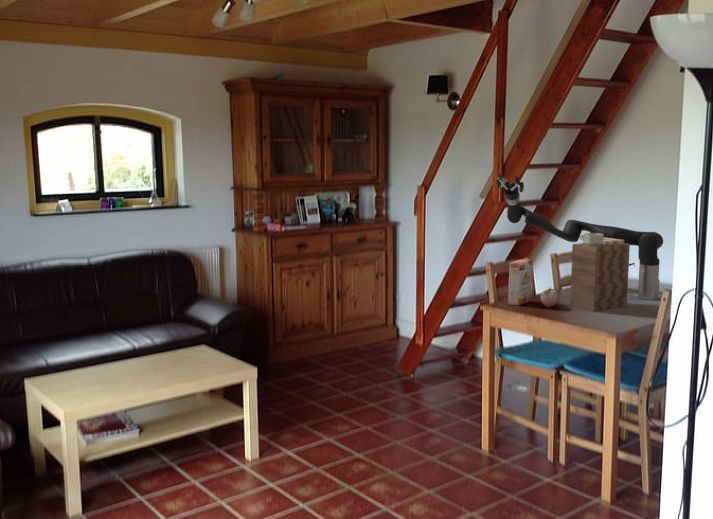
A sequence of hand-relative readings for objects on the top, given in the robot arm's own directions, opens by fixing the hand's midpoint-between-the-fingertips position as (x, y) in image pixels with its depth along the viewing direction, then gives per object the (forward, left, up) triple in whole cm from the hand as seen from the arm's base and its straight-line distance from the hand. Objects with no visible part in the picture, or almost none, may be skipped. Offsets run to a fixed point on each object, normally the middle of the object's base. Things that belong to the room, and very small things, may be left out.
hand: (508, 175), depth 375 cm
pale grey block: (-7, +51, -31) cm, 60 cm away
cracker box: (+14, +25, -61) cm, 67 cm away
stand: (-12, +51, -61) cm, 80 cm away
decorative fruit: (+10, +41, -61) cm, 74 cm away
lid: (-18, +44, -31) cm, 57 cm away
